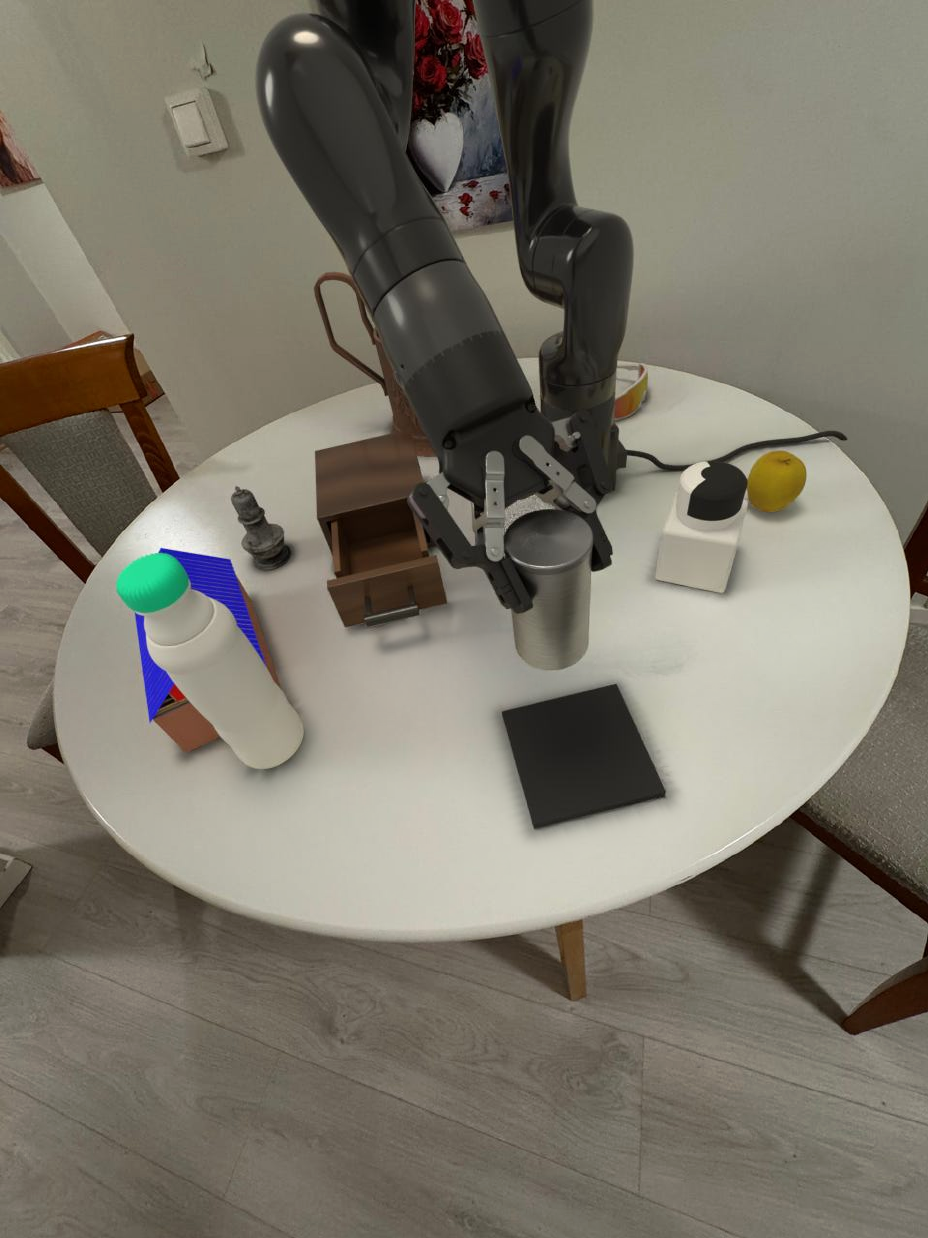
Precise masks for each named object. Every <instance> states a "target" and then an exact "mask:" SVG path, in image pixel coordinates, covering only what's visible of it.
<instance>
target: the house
mask: <svg viewBox="0 0 928 1238" xmlns="http://www.w3.org/2000/svg"><path fill="white" fill-rule="evenodd" d="M157 553H166V554H168V555H172V556H173V557H174V558H176V559H177V560H178V562H179V563H180V564H181V565H182V566H183V568H184V569H185V571H186V573H187V575H188V578H189V580H190V583H191V589H193V590H196V591H199V592H201V593H203V594H204V595H206V596H207V597H210V598H212V599H214V600H216V601H218V602H220V603H222V604H223V605H225V606H226V607H227V608H228V609H229V610H230V611H231V613H232V614H233V616H234V618H235V620H236V623H237V626H238V627H239V628H240V630H241V631H242V632H243V633H244V635H245V636H246V637H247V638H248V640H249V641H250V643H251V644H252V646H253V647H254V648H255V650H256V651H257V653H258V654H259V656H260V658H261V659H262V661H263V662H264V664H265V666H266V667H267V669H268V671H269V673H270V675H271V677H272V679H273V681H274V682H275V683H276V684H277V685H278V686H279V687H280V689H281V690H282V691H283V688H282V686H281V682H280V680H279V677H278V674H277V671H276V668H275V665H274V663H273V660H272V657H271V655H270V651H269V648H268V645H267V643H266V642H267V641H266V639H265V637H264V634H263V630H262V628H261V625H260V623H259V619H258V617H257V614H256V610H255V608H254V604H253V602H252V600H251V597H250V595H249V594H248V592H247V590H246V589H245V587H244V586H243V584H242V582H241V581H240V579H239V577H238V576H237V574H236V570H235V568H234V566H233V563H232V560H231V559H230V558H225V557H219V556H213V555H207V554H202V553H201V554H200V553H195V552H189V551H183V550H176V549H170V548H164V547H159V550H158V552H157ZM134 617H135V618H134V619H135V624H136V625H135V627H136V631H137V633H136V634H137V639H138V647H139V654H140V662H141V663H140V664H141V669H142V677H143V685H144V692H145V698H146V704H147V705H146V706H147V716H148V722H149V724H151V723H152V721H153V722H154V723H155V724H156V725H157V726H158V727H159V728H160V729H161V730H162V731H163V732H164V733H165V734H167V736H169V738H170V739H171V740H173V741H174V743H175V744H176V745H177V746H179V748H180V749H182V751H184V753H185V754H187V753H190V752H191V751H193V750H195V749H197V748H200V747H202V746H204V745H206V744H208V743H210V742H213V741H214V740H217V739H219V738H221V737H220V735H219V734H218V733H217V731H216V730H215V728H214V726H213V724H211V723H210V722H209V721H208V720H207V719H206V718H205V717H204V716H203V715H202V714H201V713H200V712H199V711H198V710H197V709H196V708H195V707H194V706H193V705H192V704H191V703H190V701H189V700H188V699H187V698H186V697H185V696H184V695H183V693H182V692H181V691H180V690H179V688H178V687H177V686H176V685H175V683H174V682H173V681H172V679H171V678H170V676H169V675H168V674H167V672H166V671H165V670H163V669H162V668H160V667H159V666H158V665H157V664H156V663H155V662H154V661H153V659H152V658H151V656H150V654H149V652H148V648H147V641H146V632H145V628H144V617H145V616H142V615H139V614H137V613H135V612H134Z"/></svg>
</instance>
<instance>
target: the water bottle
mask: <svg viewBox="0 0 928 1238" xmlns="http://www.w3.org/2000/svg"><path fill="white" fill-rule="evenodd" d="M115 588H116V593H117V594H118V596H119V598H120V599H121V601H122V602H123V603H124V604H125V605H126V606H127V607H128V608H129V609H130V610H131V611H133V612H134V614H135V613H137V614H139V615H142V616H145V617H144V628H145V632H146V641H147V648H148V652H149V654H150V656H151V658H152V659H153V661H154V662H155V663H156V664H157V665H158V666H159V667H160V668H162V669H163V670H165V671H166V672H167V674H168V675H169V676H170V678H171V679H172V681H173V682H174V683H175V685H176V686H177V687H178V688H179V690H180V691H181V692H182V693H183V695H184V696H185V697H186V698H187V699H188V700H189V701H190V703H191V704H192V705H193V706H194V707H195V708H196V709H197V710H198V711H199V712H200V713H201V714H202V715H203V716H204V717H205V718H206V719H207V720H208V721H209V722H210V723H211V724H213V726H214V728H215V730H216V731H217V733H218V734H219V735H220V737H219V738H220V739H222V740H223V741H224V742H225V743H226V744H227V745H229V746H230V748H231V749H232V751H233V753H234V754H235V756H236V757H237V758H238V759H239V760H240V761H241V762H242V763H243V764H245V766H248V767H250V768H251V769H256V770H266V769H271V768H275V767H277V766H279V765H282V764H283V763H285V762H286V761H288V760H289V759H290V758H292V756H293V755H294V754H295V753H296V752H297V750H298V749H299V748H300V746H301V743H302V742H303V738H304V732H305V731H304V730H305V729H304V724H303V721H302V719H301V717H300V716H299V714H298V712H297V711H296V710H295V708H294V707H293V705H291V703H289V700H288V697H287V696H286V695H285V693H284V692H283V689H282V690H281V689H280V687H279V686H278V685H277V684H276V683H275V682H274V681H273V679H272V677H271V675H270V673H269V671H268V669H267V667H266V666H265V664H264V662H263V661H262V659H261V658H260V656H259V654H258V653H257V651H256V650H255V648H254V647H253V646H252V644H251V643H250V641H249V640H248V638H247V637H246V636H245V635H244V633H243V632H242V631H241V630H240V628H239V627H238V626H237V623H236V620H235V618H234V616H233V614H232V613H231V611H230V610H229V609H228V608H227V607H226V606H225V605H223V604H222V603H220V602H218V601H216V600H214V599H212V598H210V597H207V596H206V595H204V594H203V593H201V592H199V591H196V590H193V589H191V583H190V580H189V578H188V575H187V573H186V571H185V569H184V568H183V566H182V565H181V564H180V563H179V562H178V560H177V559H176V558H174V557H173V556H172V555H168V554H166V553H158V552H154V553H150V554H146V555H144V556H141V557H140V558H139V557H138V558H136V559H135V560H132V562H130V563H128V565H127V566H125V567H124V568H123V569H122V570H121V572H120V573H119V574H118V576H117V578H116V582H115ZM187 699H186V700H187Z"/></svg>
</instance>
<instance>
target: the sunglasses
mask: <svg viewBox="0 0 928 1238" xmlns="http://www.w3.org/2000/svg"><path fill="white" fill-rule="evenodd" d="M617 369H622V370H628V371H638V372H637V379H636V381H635V382H634V383H632V385H631V386H629V387H627V388H626V389H625V390H624V391H623V392H622V393H620V394H619V395H617V396H616V395H615V409H614V421H619V420H623V419H627V418H628V417H631V416H632V415H634V414H635V413H636V412H637V411H638V410H639V408H640V406H641V404H642V402H644V401H645V400H646V397H647V391H648V385H649V384H648V383H649V374H648V371H649V367H648V364H645V363H644V362H640V363H623V364H621V363H620V364H617Z"/></svg>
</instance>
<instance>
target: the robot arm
mask: <svg viewBox="0 0 928 1238" xmlns="http://www.w3.org/2000/svg"><path fill="white" fill-rule="evenodd" d="M471 1H472V6H473V10H474V15H475V21H476V26H477V29H478V33H479V34H478V35H479V39H480V45H481V47H482V53H483V56H484V60H485V65H486V70H487V74H488V77H489V82H490V88H491V92H492V99H493V104H494V108H495V114H496V119H497V125H498V129H499V136H500V140H501V146H502V151H503V157H504V162H505V168H506V173H507V180H508V188H509V197H510V204H511V212H512V221H513V222H512V223H513V229H514V239H515V240H514V241H515V248H516V255H517V263H518V267H519V272H520V275H521V279H522V281H523V283H524V286H525V287H526V289H527V291H528V292H529V293H530V294H531V296H533V297H534V298H536V299H537V300H538V301H540V302H542V303H544V304H548V305H551V306H553V307H556V308H559V309H561V310H563V330H561V331H558V332H556V333H554V334H552V335H551V336H549V337H547V338H546V339H544V341H543V342H542V343H541V344H540V347H539V349H538V357H537V358H538V375H539V376H538V382H539V405H540V409H538V407H537V404H536V400H535V396H534V393H533V389H532V387H531V385H530V383H529V381H528V379H527V377H526V375H525V373H524V370H523V369H522V366H521V364H520V362H519V360H518V358H517V356H516V354H515V352H514V350H513V347H512V346H511V344H510V341H509V339H508V337H507V336H506V333H505V331H504V329H503V327H502V325H501V323H500V320H499V318H498V316H497V315H496V313H495V311H494V308H493V306H492V303H491V302H490V300H489V298H488V297H487V294H486V293H485V292H484V290H483V288H482V287H481V285H480V284H479V283H478V281H477V279H476V278H475V276H474V275H473V273H472V271H471V270H470V268H469V266H468V264H467V262H466V260H465V257H464V256H463V254H462V252H461V249H460V247H459V245H458V243H457V241H456V239H455V237H454V235H453V232H452V230H451V228H450V226H449V224H448V223H447V221H446V219H445V217H444V215H443V213H442V211H441V209H440V208H439V207H438V205H437V203H436V201H435V200H434V198H433V197H432V195H431V194H430V193H429V191H428V189H427V187H425V185H424V183H423V182H422V181H421V179H420V178H419V176H418V175H417V173H416V171H415V169H414V167H413V165H412V163H411V161H410V159H409V157H408V154H407V153H406V151H407V147H408V146H407V145H408V141H409V135H410V128H411V127H410V126H411V119H412V117H411V116H412V106H413V105H412V104H413V86H414V84H413V83H414V67H415V64H414V63H415V42H416V41H415V40H416V39H415V27H416V26H415V25H416V24H415V23H416V21H415V20H416V19H415V18H416V3H417V0H314V3H315V5H316V10H317V13H313V12H305V11H303V12H297V13H292V14H289V15H286V16H284V17H283V18H281V19H280V20H278V21H277V22H276V23H274V25H272V27H271V28H270V29H269V30H268V31H267V33H266V34H265V36H264V38H263V41H262V42H261V44H260V47H259V51H258V54H257V59H256V63H255V74H254V75H255V76H254V85H255V86H254V87H255V88H254V89H255V96H256V102H257V107H258V112H259V115H260V118H261V121H262V124H263V126H264V129H265V132H266V134H267V136H268V138H269V140H270V143H271V145H272V146H273V149H274V150H275V152H276V154H277V155H278V157H279V159H280V161H281V163H282V164H283V166H284V167H285V169H286V171H287V172H288V174H289V175H290V177H291V180H292V181H293V182H294V184H295V185H296V187H297V188H298V190H299V191H300V193H301V194H302V196H303V198H304V199H305V201H306V203H307V204H308V205H309V207H310V209H311V210H312V211H313V213H314V214H315V216H316V217H317V219H318V221H319V222H320V224H321V225H322V227H323V228H324V229H325V231H326V232H327V235H328V236H329V237H330V238H331V240H332V241H333V244H334V245H335V247H336V248H337V250H338V253H339V254H340V256H341V257H342V260H343V262H344V264H345V266H346V268H347V271H348V275H349V276H351V278H352V280H353V283H354V285H355V287H356V289H357V291H358V293H359V295H360V297H361V299H362V301H363V303H364V305H365V309H366V312H367V314H368V315H369V317H370V319H371V320H372V322H373V325H374V328H375V327H376V329H377V332H378V334H379V337H380V340H381V343H382V346H383V349H384V352H385V354H386V356H387V359H388V361H389V363H390V365H391V367H392V369H393V372H394V373H393V374H394V377H395V379H396V381H397V383H398V384H399V385H400V386H401V388H402V389H403V391H404V393H405V395H406V397H407V399H408V401H409V403H410V405H411V407H412V409H413V411H414V413H415V415H416V417H417V419H418V421H419V423H420V425H421V427H422V429H423V431H424V433H425V435H426V437H427V439H428V441H429V443H430V445H431V447H432V449H433V451H434V452H435V454H436V456H435V457H436V458H437V461H438V474H437V475H436V476H434V477H432V478H431V479H430V480H428V481H427V482H424V483H423V482H422V483H418V484H417V485H416V486H415V488H414V489H413V490H412V492H411V493H410V495H409V496H408V499H407V502H408V505H409V507H410V508H411V510H412V511H413V512H414V514H415V515H416V517H417V518H418V520H419V521H420V522H421V524H422V525H423V527H424V528H425V530H426V531H427V532H428V534H429V535H430V537H431V538H432V540H433V541H434V543H435V544H436V545H437V548H438V550H439V552H441V554H442V556H443V558H445V560H446V561H447V563H448V565H450V567H451V568H452V569H455V570H461V569H466V568H475V567H476V568H479V569H481V570H482V571H483V572H484V573H485V575H486V577H487V579H488V582H489V583H490V585H491V587H492V589H493V591H494V593H495V595H496V597H497V600H498V602H499V603H500V605H501V606H502V607H503V608H504V609H506V610H511V609H513V611H514V612H515V613H516V614H520V613H525V612H526V611H528V610H530V609H532V608H533V603H532V601H531V599H530V597H529V594H528V592H527V590H526V588H525V586H524V584H523V582H522V580H521V578H520V576H519V574H518V572H517V570H516V568H515V566H514V565H513V563H512V561H511V559H510V557H508V558H506V559H505V554H504V537H503V536H504V525H505V522H506V510H507V509H508V508H509V507H511V506H512V505H513V504H515V503H517V502H518V501H521V500H526V499H528V498H530V497H532V496H534V495H535V496H536V497H537V498H538V499H539V500H541V501H542V502H544V503H545V504H549V505H551V506H552V507H553V508H554V509H558V510H564V511H568V512H571V513H574V514H576V515H578V516H579V517H581V518H582V519H584V520H585V521H586V522H587V524H588V525H589V526H590V528H591V530H592V533H593V548H592V565H591V573H595V572H600V571H602V570H605V569H607V568H609V567H611V566H612V564H613V560H612V557H611V556H613V555H614V549H613V545H612V543H611V541H610V539H609V537H608V535H607V533H606V530H605V528H604V527H603V525H602V522H601V520H600V518H599V516H598V514H597V513H598V512H597V507H598V505H599V504H600V502H601V501H602V500H603V499H604V498H605V497H606V496H608V495H609V494H611V493H612V492H614V491H616V483H617V471H618V470H622V469H625V468H626V469H627V461H628V456H629V457H636V458H642V459H644V460H648V461H649V462H651V463H653V465H654V466H656V467H657V468H658V469H660V470H663V471H664V470H665V471H671V472H684V471H685V470H686V469H687V468H689V467H690V466H692V465H694V464H695V463H691V464H682V465H680V464H679V465H675V464H668V463H663V462H662V461H660V460H659V459H658V458H657V457H656V456H654V455H653V454H651V453H648V452H644V451H640V450H633V449H626V448H625V446H624V445H623V442H621V440H620V428H619V426H618V425H617V423H616V422H615V420H614V409H615V397H616V387H617V372H618V368H617V365H618V361H619V359H618V357H619V354H620V350H621V348H622V345H623V342H624V340H625V336H626V331H627V326H628V325H627V324H628V314H629V308H630V298H631V293H632V292H631V291H632V284H633V275H634V264H635V263H634V262H635V261H634V260H635V251H634V250H635V249H634V248H635V247H634V240H633V234H632V230H631V229H630V225H629V224H628V222H627V221H626V219H624V218H623V217H622V216H621V215H618V214H616V213H614V212H610V211H604V210H601V209H600V210H599V209H594V208H589V207H584V206H579V204H578V200H577V197H576V192H575V189H574V183H573V175H572V168H571V167H572V166H571V157H570V130H571V122H572V118H573V113H574V109H575V105H576V103H577V98H578V95H579V91H580V88H581V84H582V80H583V76H584V73H585V70H586V66H587V60H588V56H589V52H590V47H591V43H592V35H593V28H594V18H595V13H594V12H595V11H594V10H595V7H594V5H595V4H594V0H471ZM826 437H827V438H828V437H833V438H836V439H838V440H839V441H843V442H844V441H848V437H847V436H846V434H844V433H843V432H840V431H837V430H825V431H824V430H823V431H820V432H815V433H812V434H808V435H803V436H797V437H788V438H787V437H785V438H778V439H777V438H775V439H766V440H761V441H756V442H751V443H748V444H745V445H742V446H739V447H737V448H736V449H734V450H732V451H730V452H729V453H727V454H725V455H722V456H720V457H717V458H714V459H710V460H709V461H720V462H725V463H726V462H727V461H729V460H731V459H733V458H734V457H736V456H738V455H740V454H742V453H744V452H747V451H749V450H753V449H758V448H762V447H768V446H770V447H771V446H779V445H780V446H781V445H791V444H797V443H798V444H800V443H806V442H810V441H814V440H817V439H821V438H826ZM447 490H450V491H451V492H452V493H455V494H456V495H458V496H460V497H461V498H464V499H465V500H467V501H469V502H470V505H471V526H472V532H473V534H474V545H472V544H471V543H470V541H469V540H468V539H467V537H466V536H465V534H464V533H463V531H462V530H461V528H460V527H459V525H458V524H457V522H456V521H455V520H454V518H453V516H452V515H451V514H450V512H449V511H448V510H447V509H448V508H449V505H450V498H449V497H448V493H447Z"/></svg>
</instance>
